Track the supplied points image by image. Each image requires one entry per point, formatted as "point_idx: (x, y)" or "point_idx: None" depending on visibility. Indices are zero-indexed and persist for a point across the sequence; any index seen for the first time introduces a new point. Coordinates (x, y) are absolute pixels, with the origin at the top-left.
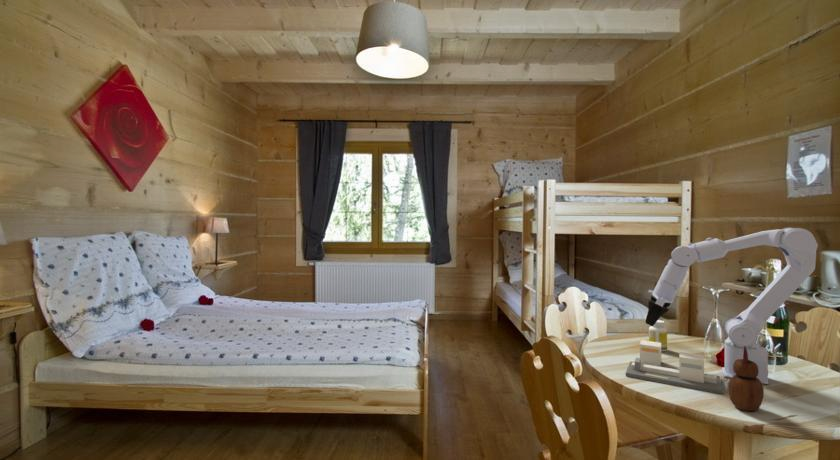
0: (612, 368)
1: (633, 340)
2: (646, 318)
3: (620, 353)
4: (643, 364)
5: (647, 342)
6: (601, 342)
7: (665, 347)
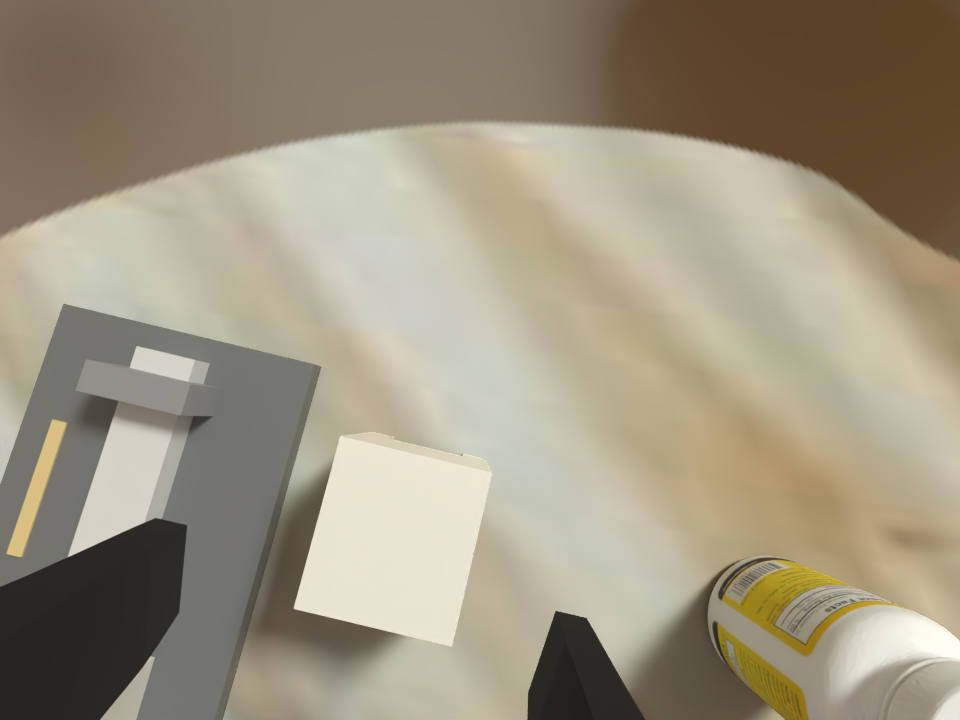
0: (210, 247)
1: (948, 468)
2: (80, 553)
3: (558, 332)
4: (163, 428)
5: (422, 515)
6: (791, 229)
7: (741, 679)
